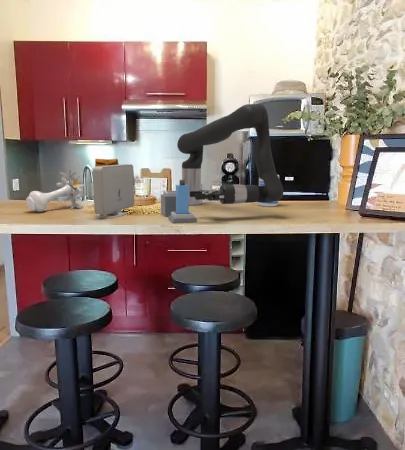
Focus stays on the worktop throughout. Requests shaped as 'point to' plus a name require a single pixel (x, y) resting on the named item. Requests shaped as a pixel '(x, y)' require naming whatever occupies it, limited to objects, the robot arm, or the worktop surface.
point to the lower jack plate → (182, 218)
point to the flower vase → (57, 193)
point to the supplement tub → (270, 204)
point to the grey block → (168, 202)
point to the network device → (113, 189)
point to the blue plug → (182, 198)
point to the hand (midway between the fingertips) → (192, 195)
